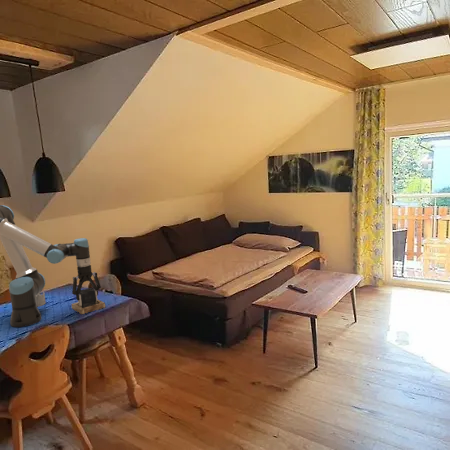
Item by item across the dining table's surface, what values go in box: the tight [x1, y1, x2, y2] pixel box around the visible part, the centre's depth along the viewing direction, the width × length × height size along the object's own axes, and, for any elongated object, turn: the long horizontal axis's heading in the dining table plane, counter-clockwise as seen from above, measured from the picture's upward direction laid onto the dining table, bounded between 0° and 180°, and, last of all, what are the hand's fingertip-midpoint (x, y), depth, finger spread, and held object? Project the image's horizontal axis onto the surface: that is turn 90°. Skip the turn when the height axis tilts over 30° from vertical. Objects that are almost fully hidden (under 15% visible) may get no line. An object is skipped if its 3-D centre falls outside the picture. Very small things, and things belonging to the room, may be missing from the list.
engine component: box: [35, 271, 47, 308], centre depth 245 cm, size 11×20×10 cm
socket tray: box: [71, 299, 106, 315], centre depth 234 cm, size 14×14×3 cm
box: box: [79, 287, 96, 308], centre depth 233 cm, size 8×6×11 cm
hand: (88, 303), depth 233 cm, fingers closed on box, 9 cm apart
